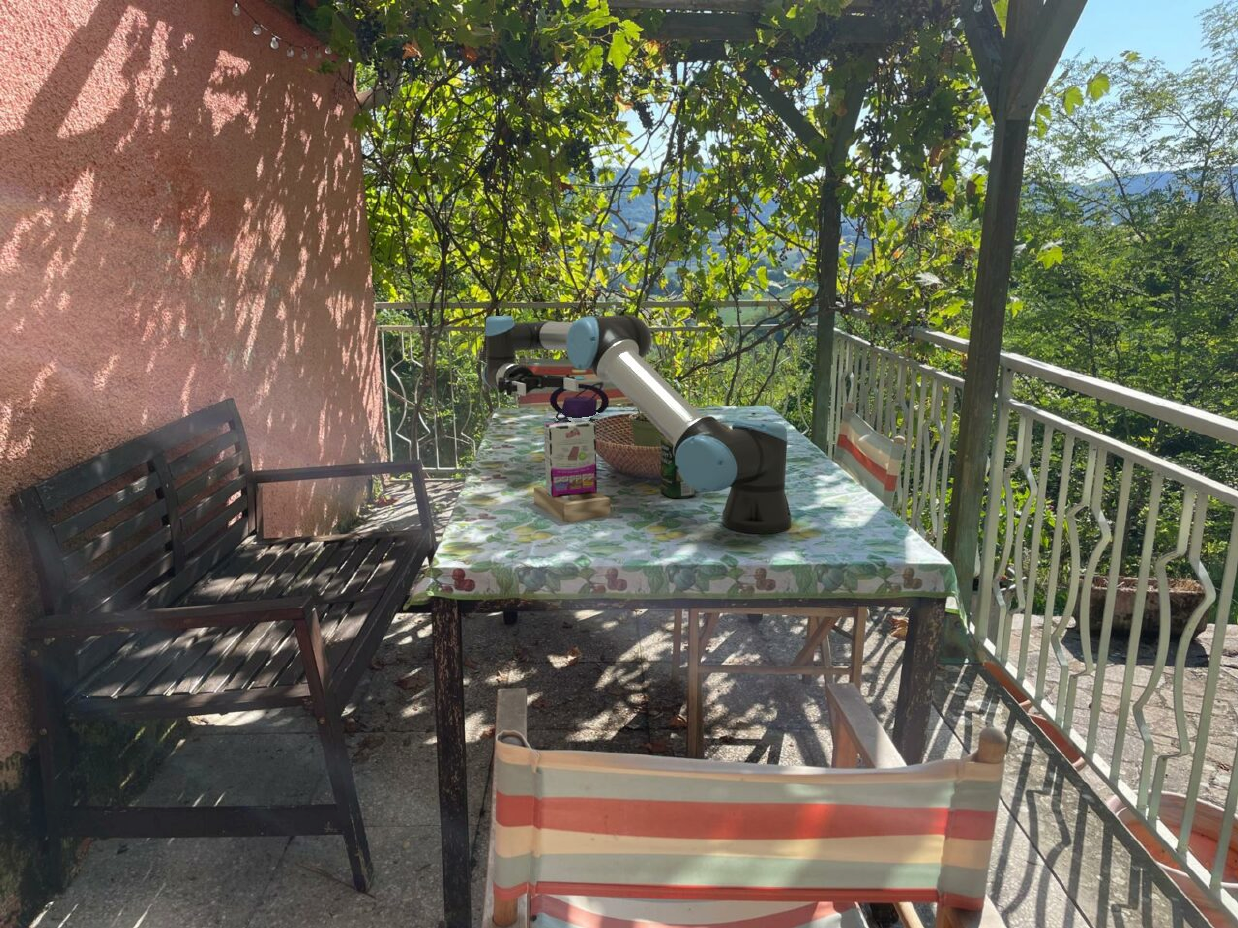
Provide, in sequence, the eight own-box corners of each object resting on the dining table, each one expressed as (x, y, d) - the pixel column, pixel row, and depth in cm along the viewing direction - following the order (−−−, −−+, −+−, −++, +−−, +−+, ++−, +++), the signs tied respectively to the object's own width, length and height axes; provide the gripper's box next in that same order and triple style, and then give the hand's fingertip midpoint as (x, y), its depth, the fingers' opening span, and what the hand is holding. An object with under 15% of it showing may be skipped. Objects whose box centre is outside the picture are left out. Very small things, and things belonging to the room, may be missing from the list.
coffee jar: (655, 490, 215) (656, 418, 211) (684, 488, 217) (685, 417, 213) (670, 500, 206) (671, 425, 202) (699, 497, 208) (701, 423, 204)
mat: (582, 497, 209) (582, 495, 208) (623, 517, 192) (623, 515, 192) (522, 505, 201) (522, 504, 201) (559, 527, 184) (559, 525, 184)
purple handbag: (612, 417, 322) (612, 351, 316) (606, 427, 301) (606, 357, 296) (554, 416, 324) (553, 351, 318) (544, 426, 303) (542, 356, 298)
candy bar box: (589, 488, 200) (589, 419, 196) (597, 493, 195) (597, 423, 192) (544, 492, 196) (543, 422, 192) (551, 498, 191) (549, 426, 187)
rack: (575, 497, 206) (575, 482, 206) (610, 515, 192) (610, 498, 191) (534, 503, 201) (533, 487, 200) (566, 522, 186) (566, 505, 185)
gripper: (560, 390, 223) (598, 399, 205) (470, 397, 211) (502, 408, 193) (559, 362, 222) (597, 368, 204) (468, 367, 210) (500, 375, 192)
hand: (551, 387), depth 198 cm, fingers open, 13 cm apart
